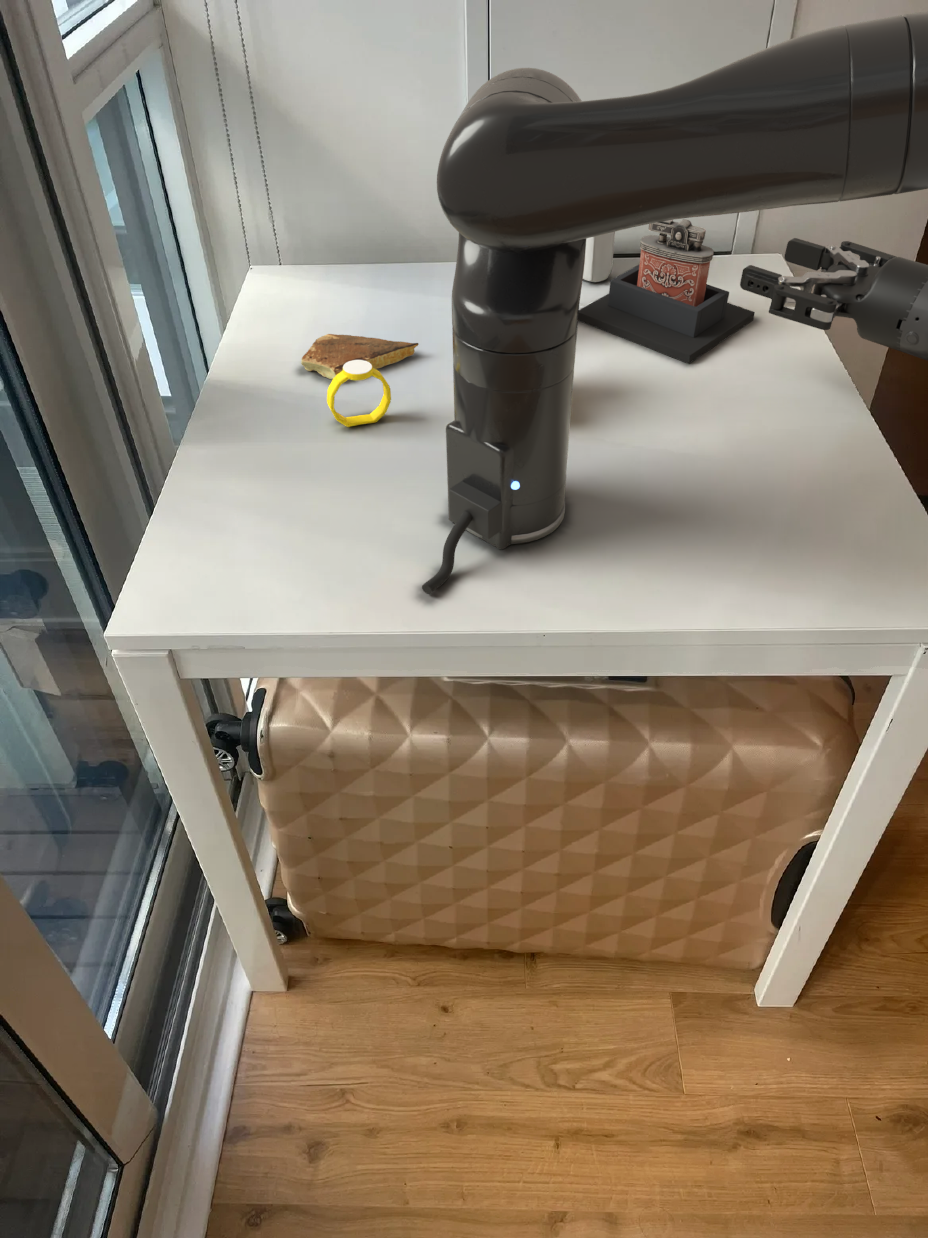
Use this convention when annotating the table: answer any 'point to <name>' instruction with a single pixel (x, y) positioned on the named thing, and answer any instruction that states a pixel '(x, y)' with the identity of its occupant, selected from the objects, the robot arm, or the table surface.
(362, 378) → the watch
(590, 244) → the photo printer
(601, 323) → the dock pad
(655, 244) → the lighter
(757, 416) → the table surface
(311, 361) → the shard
